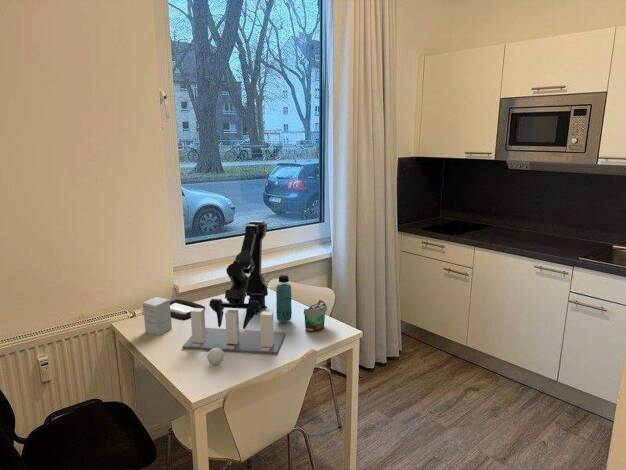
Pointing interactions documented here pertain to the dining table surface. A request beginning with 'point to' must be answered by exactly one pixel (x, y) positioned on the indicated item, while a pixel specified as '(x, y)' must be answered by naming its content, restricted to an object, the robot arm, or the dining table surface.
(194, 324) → the three pillar stand
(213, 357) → the white sphere
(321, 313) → the food container
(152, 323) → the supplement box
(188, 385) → the dining table surface
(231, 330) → the block
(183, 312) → the light switch
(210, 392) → the dining table surface
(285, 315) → the beverage bottle
